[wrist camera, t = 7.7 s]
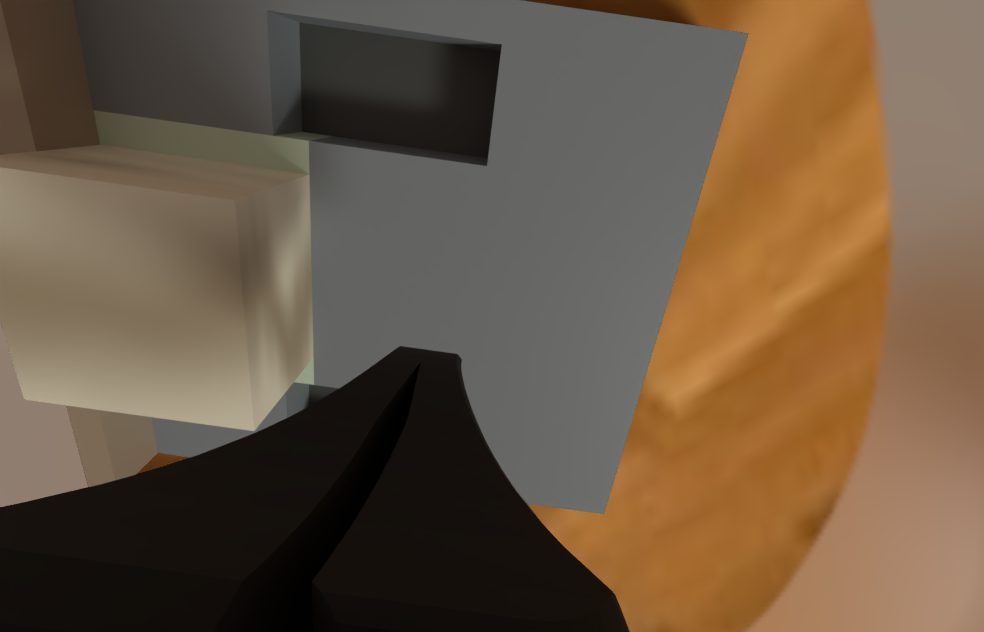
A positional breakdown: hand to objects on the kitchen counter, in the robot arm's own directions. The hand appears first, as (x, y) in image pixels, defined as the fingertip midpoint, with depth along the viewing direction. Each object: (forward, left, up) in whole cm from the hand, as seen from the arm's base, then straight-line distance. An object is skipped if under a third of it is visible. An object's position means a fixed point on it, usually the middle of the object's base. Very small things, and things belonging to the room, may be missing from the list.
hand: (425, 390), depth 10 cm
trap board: (0, +3, -8) cm, 8 cm away
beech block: (0, +8, -5) cm, 9 cm away
